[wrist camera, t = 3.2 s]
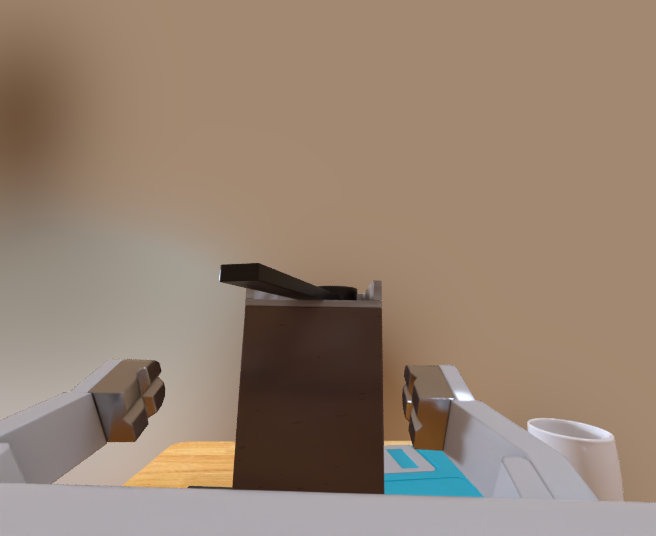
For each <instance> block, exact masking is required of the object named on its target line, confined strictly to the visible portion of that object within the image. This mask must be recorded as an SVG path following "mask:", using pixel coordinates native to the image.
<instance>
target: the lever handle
mask: <svg viewBox="0 0 656 536" xmlns="http://www.w3.org/2000/svg"><path fill="white" fill-rule="evenodd" d="M219 281H220V282H223V283H227V284H232V285H236V286H240V287H244V288H249V289H253V290H257V291H262V292H266V293H270V294H274V295H279V296H283V297H287V298H292V299H296V300H352V301H357V289H356V288H353V287H346V286H318V287H317V286H314V285H312V284H309V283H307V282H304V281H302V280H299V279H297V278H294V277H292V276H290V275H287V274H284V273H282V272H280V271H277V270H275V269H272V268H270V267H267V266H265V265H262V264H260V263H251V264H250V263H249V264H228V265H221V267H220V279H219Z"/></svg>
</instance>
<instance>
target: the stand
mask: <svg viewBox="0 0 656 536" xmlns="http://www.w3.org/2000/svg"><path fill="white" fill-rule="evenodd" d="M381 288H382V287H381V281H373V282H372V283H371V285H370V286H369V287H368V289H367V290H366V291H365V292H364V294H357V301H352V300H296V299H292V298H287V297H283V296H279V295H274V294H270V293H266V292H262V291H257V290H253V289H249V288H246V300H245V314H244V329H243V344H242V359H241V372H240V386H239V401H238V417H237V429H236V444H235V458H234V473H233V487H232V490H264V491H296V492H327V493H357V494H385V493H384V429H383V428H384V426H383V362H382V361H383V360H382V359H383V358H382V301H381V300H382V289H381Z"/></svg>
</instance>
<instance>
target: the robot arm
mask: <svg viewBox="0 0 656 536" xmlns="http://www.w3.org/2000/svg"><path fill="white" fill-rule="evenodd" d="M160 373H161V368H160V364H159V362H157V361H155V360H132V359H127V360H125V359H110V360H107V361H106V362H104V363H103V364H102V365H101V366H100V367H98V368H97V369H96V370H95V371H94V372H93V373H91V374H90V375H89V376H88V377H87V378H85V379H84V380H83V381H82V382H81V383H79V384H78V385H77V386H76V387H75V388H74V389H72V390H71V391H70V392H63V393H61V394H59V395H57V396H54V397H52V398H50V399H48V400H45V401H43V402H41V403H38V404H36V405H34V406H32V407H29V408H27V409H25V410H22V411H20V412H18V413H15V414H13V415H11V416H9V417H6V418H4V419H2V420H0V536H656V503H655V502H624V501H599V499H598V498H597V497H596V495H595V494H594V493H593V491H592V490H591V489H590V488H589V486H588V485H587V484H586V482H585V481H584V480H583V479H582V477H581V476H580V475H579V473H578V472H577V471H576V469H575V468H574V467H573V466H572V464H571V463H570V462H569V460H568V459H567V458H566V457H565V456H564V455H562V454H561V453H559V452H558V451H556V450H555V449H553V448H552V447H550V446H549V445H547V444H545V443H544V442H542V441H541V440H539V439H538V438H536V437H535V436H533V435H532V434H530V433H529V432H527V431H526V430H524V429H522V428H521V427H519V426H518V425H516V424H515V423H513V422H512V421H510V420H508V419H507V418H506V417H504V416H503V415H501V414H500V413H498V412H496V411H495V410H493V409H492V408H490V407H489V406H487V405H486V404H484V403H483V402H481V401H475V399H474V397H473V396H472V394H471V392H470V391H469V389H468V388H467V386H466V384H465V382H464V380H463V379H462V377H461V375H460V374H459V372H458V370H457V369H456V367H455V366H454V365H437V366H431V365H429V366H428V365H422V366H421V365H406V367H405V372H404V377H405V381H406V385H405V386H404V387H403V394H402V398H403V410H404V414H405V418H406V419H407V420H408V421H409V433H410V437H411V441H412V444H413V448H414V449H418V450H436V451H443V453H444V454H445V455H446V456H447V457H448V458H449V459H450V460H451V461H452V463H453V464H454V465H455V466H456V467H457V468H458V469H459V470H460V471H461V472H462V473H463V474H464V476H465V477H466V478H467V479H468V480H469V481H470V482H471V483H472V484H473V485H474V486H475V487H476V489H477V490H478V491H479V492H480V493H481V494H482V495H483V496H484V497H460V496H426V495H390V494H357V493H327V492H296V491H264V490H230V489H197V488H163V487H130V486H93V485H64V484H52V483H53V482H55V481H56V480H57V479H59V478H60V477H61V476H63V475H64V474H66V473H67V472H68V471H70V470H71V469H73V468H74V467H75V466H77V465H78V464H79V463H81V462H82V461H84V460H85V459H86V458H88V457H89V456H91V455H92V454H93V453H95V452H96V451H97V450H99V449H100V448H102V447H103V446H104V445H105V444H107V442H135V441H136V440H137V439H138V437H139V436H140V435H141V433H142V432H143V431H144V429H145V428H146V427H147V425H148V418H149V417H150V416H152V415H154V414H155V413H156V412H157V411H158V410H159V408H160V407H161V406H162V403H163V400H164V397H165V386H164V382H163V381H162V380H161V379H160V378H159V377H158V376H159V374H160Z"/></svg>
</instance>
